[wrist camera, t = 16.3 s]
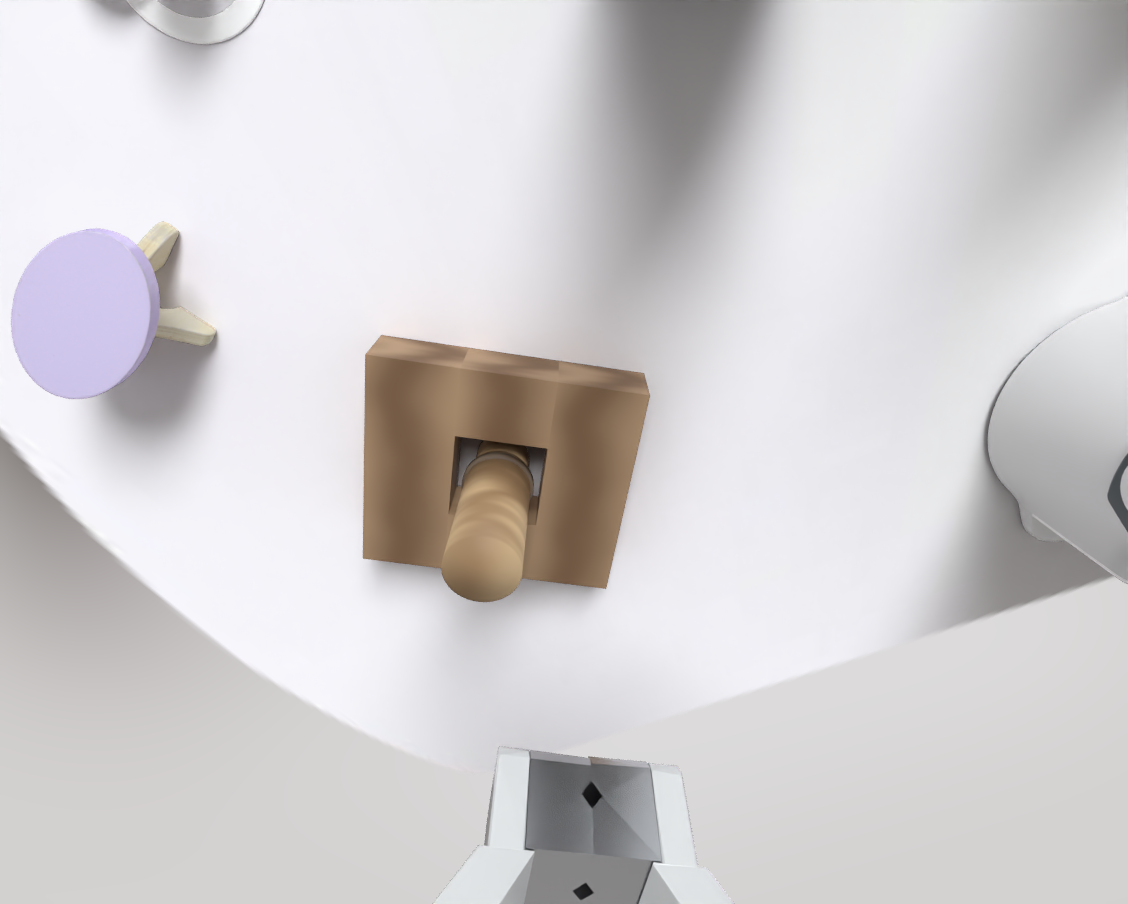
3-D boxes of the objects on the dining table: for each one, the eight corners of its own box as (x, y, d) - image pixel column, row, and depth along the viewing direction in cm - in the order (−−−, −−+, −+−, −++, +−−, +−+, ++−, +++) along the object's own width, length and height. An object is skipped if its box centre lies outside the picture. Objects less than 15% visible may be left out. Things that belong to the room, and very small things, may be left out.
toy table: (161, 396, 42) (104, 436, 37) (27, 287, 39) (-55, 315, 34) (256, 295, 39) (209, 323, 34) (120, 168, 36) (45, 178, 31)
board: (643, 373, 41) (649, 395, 38) (603, 556, 47) (606, 588, 44) (381, 335, 40) (365, 354, 37) (376, 528, 46) (362, 558, 43)
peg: (540, 432, 43) (530, 540, 32) (531, 489, 45) (519, 609, 34) (473, 422, 42) (441, 529, 32) (467, 480, 44) (435, 598, 34)
